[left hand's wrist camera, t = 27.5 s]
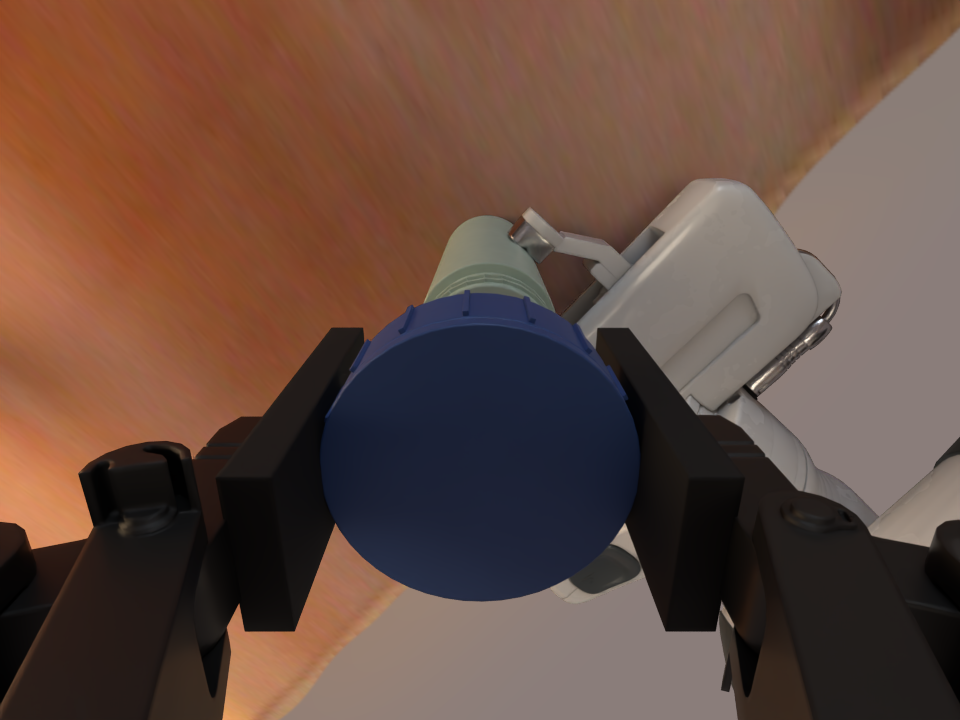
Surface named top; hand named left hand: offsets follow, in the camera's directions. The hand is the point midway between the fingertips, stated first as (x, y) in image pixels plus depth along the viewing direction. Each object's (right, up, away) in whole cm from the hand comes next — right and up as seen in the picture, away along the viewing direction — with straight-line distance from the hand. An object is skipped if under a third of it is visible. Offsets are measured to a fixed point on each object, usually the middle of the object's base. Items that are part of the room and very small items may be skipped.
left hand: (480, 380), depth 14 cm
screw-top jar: (0, +6, +17) cm, 19 cm away
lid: (0, -1, -4) cm, 4 cm away
